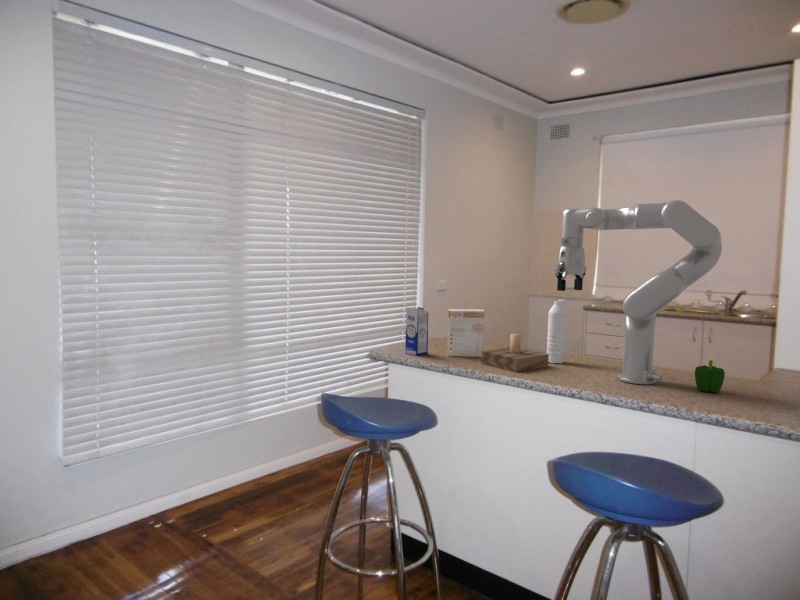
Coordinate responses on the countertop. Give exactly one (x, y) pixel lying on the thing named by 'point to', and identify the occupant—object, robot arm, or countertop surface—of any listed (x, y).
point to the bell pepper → (709, 378)
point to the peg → (515, 343)
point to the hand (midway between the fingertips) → (569, 290)
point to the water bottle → (556, 333)
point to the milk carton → (416, 331)
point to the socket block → (514, 359)
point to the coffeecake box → (465, 332)
